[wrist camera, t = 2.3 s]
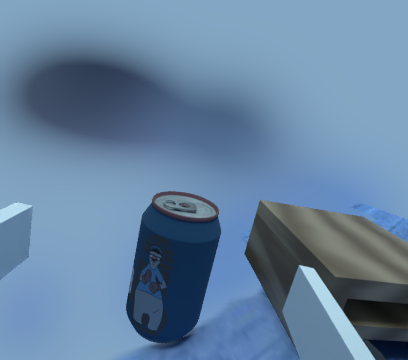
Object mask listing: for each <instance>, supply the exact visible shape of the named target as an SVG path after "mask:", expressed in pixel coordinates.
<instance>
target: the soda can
mask: <svg viewBox="0 0 408 360" xmlns="http://www.w3.org/2000/svg"><path fill="white" fill-rule="evenodd" d="M218 214H219V209H218V207H217V206H216V205H215V204H214V203H212V202H211V201H209V200H207V199H205V198H202V197H200V196H197V195H193V194H190V193H183V192H174V191H173V192H172V191H169V192H161V193H158V194H156V195H154V197H153V199H152V203H151V204H150V206H149V207H148V208H147V209H146V211H145V212H144V213H143V215H142V220H141V225H140V231H139V237H138V242H137V248H136V253H135V259H134V265H133V270H132V276H131V281H130V287H129V293H128V299H127V304H126V311H127V315H128V318H129V320H130V322H131V324H132V325H133V327H134V328H135V330H136V331H137V332H138V334H140V335H141V336H142V337H143V338H145V339H147V340H149V341H152V342H156V343H170V342H174V341H176V340H178V339H180V338H181V337H183V336H184V335H186V334H187V333H188V332H190V331H191V330H192V329H193V328H194V327H195V325H196V324H197V322H198V319H199V316H200V312H201V308H202V304H203V300H204V296H205V293H206V289H207V285H208V281H209V277H210V273H211V269H212V266H213V262H214V258H215V254H216V250H217V246H218V242H219V238H220V235H221V227H220V223H219V220H218Z"/></svg>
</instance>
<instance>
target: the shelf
mask: <svg viewBox="0 0 408 360" xmlns="http://www.w3.org/2000/svg"><path fill="white" fill-rule="evenodd" d="M245 255H246V257H247V259H248V261H249V263H250V264H251V266H252V268H253V270H254V272H255V274H256V276H257V277H258V279H259V281H260V283H261V285H262V287H263V288H264V290H265V292H266V294H267V296H268V298H269V300H270V301H271V303H272V305H273V307H274V309H275V311H276V312H277V314H278V316H279V318H280V320H281V322H282V324H283V325H284V327H285V329H286V331H287V333H288V335H289V336H290V338H291V340H292V342H293V339H292V336H291V334H290V331H289V328H288V326H287V323H286V320H285V317H284V315H283V312H282V310H283V308H284V305H285V302H286V299H287V297H288V294H289V291H290V288H291V286H292V283H293V280H294V277H295V275H296V272H297V269H298V267H299V265H301V266H305V267H310V268H314V269H315V271H316V272H317V274H318V275H319V277H320V278H321V280H322V281H323V283H324V284H325V286H326V287H327V289H328V290H329V292H330V293H331V295H332V296H333V298H334V299H335V301H336V302H337V303H338V305H339V306H340V308H341V309H342V311H343V312H344V314H345V315H346V317H347V318H348V320H349V321H350V323H351V324H352V326H353V327H354V329H355V330H356V332H357V333H358V335H359V336H360V338H361V339H370V340H389V341H408V243H407V242H405V241H404V240H402V239H400V238H399V237H397V236H395V235H393V234H392V233H390V232H388V231H387V230H385V229H383V228H381V227H380V226H378V225H376V224H375V223H373V222H371V221H369V220H368V219H366V218H364V217H361V216H354V215H348V214H342V213H336V212H329V211H324V210H318V209H311V208H306V207H300V206H294V205H287V204H281V203H275V202H269V201H263V200H260V202H259V206H258V209H257V213H256V216H255V219H254V223H253V226H252V230H251V233H250V237H249V240H248V243H247V247H246V250H245ZM293 344H294V342H293ZM294 346H295V344H294Z"/></svg>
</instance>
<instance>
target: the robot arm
mask: <svg viewBox="0 0 408 360" xmlns="http://www.w3.org/2000/svg"><path fill="white" fill-rule="evenodd" d="M32 208H33V206H30V205H26V204H21V203H17V202H16V203H14V204H12V205H10V206H8V207H6V208H3V209H1V210H0V280H1V279H2V278H3V277H4V276H6V275H7V274H8V273H9V272H10V271H12V270H13V269H14V268H16V267H17V266H18V265H19V264H20V263H22V262H23V261H24V260H25V259H27V258H28V257H29V245H30V231H31V220H32ZM282 312H283V315H284V317H285V320H286V323H287V326H288V328H289V331H290V334H291V336H292V339H293V342H294V344H295V347H296V350H297V352H298V355H299V358H300V360H386V359H385V357H384V356H383V355H382V353H381V352H380V351H379V350H378V349H377V348H375V347H374V346H373V345H372V344H371V343H370V342H369V341H368V340H364V339H361V338H360V336H359V335H358V333H357V332H356V330H355V329H354V327H353V326H352V324H351V323H350V321H349V320H348V318H347V317H346V315H345V314H344V312H343V311H342V309H341V308H340V306H339V305H338V303H337V302H336V301H335V299H334V298H333V296H332V295H331V293H330V292H329V290H328V289H327V287H326V286H325V284H324V283H323V281H322V280H321V278H320V277H319V275H318V274H317V272H316V271H315V269H314V268H310V267H305V266H301V265H299V267H298V269H297V272H296V275H295V277H294V280H293V283H292V286H291V288H290V291H289V294H288V297H287V299H286V302H285V305H284V308H283V310H282Z"/></svg>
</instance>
